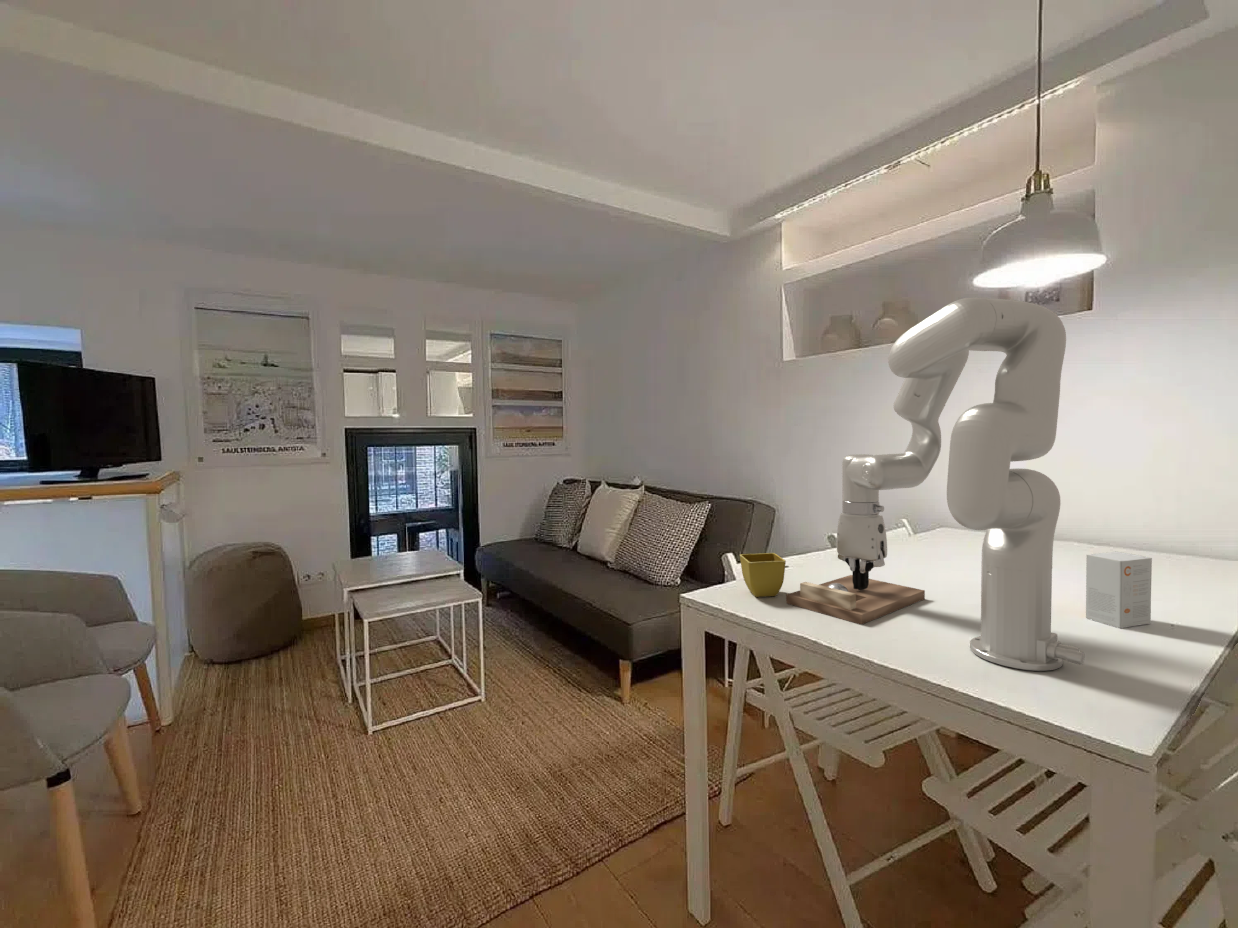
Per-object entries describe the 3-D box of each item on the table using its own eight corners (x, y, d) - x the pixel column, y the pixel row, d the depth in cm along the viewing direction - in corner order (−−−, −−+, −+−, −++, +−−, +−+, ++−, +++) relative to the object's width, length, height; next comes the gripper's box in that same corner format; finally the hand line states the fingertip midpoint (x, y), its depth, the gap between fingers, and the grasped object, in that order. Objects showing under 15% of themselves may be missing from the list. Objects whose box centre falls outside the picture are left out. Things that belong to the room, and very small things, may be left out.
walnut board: (924, 598, 122) (924, 577, 122) (861, 624, 107) (861, 599, 107) (850, 582, 137) (850, 563, 137) (786, 603, 122) (786, 581, 121)
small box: (1114, 613, 110) (1115, 550, 109) (1151, 624, 103) (1153, 557, 103) (1084, 618, 108) (1085, 553, 107) (1120, 628, 102) (1122, 560, 101)
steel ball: (838, 610, 116) (849, 609, 119) (844, 587, 115) (856, 588, 118) (817, 600, 119) (829, 600, 123) (824, 579, 119) (835, 579, 122)
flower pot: (749, 600, 125) (748, 561, 124) (739, 589, 133) (739, 553, 133) (786, 599, 125) (786, 560, 124) (774, 588, 134) (774, 552, 133)
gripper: (902, 510, 118) (901, 592, 119) (839, 504, 130) (840, 579, 131) (883, 513, 114) (883, 599, 115) (821, 507, 126) (821, 584, 127)
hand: (860, 588), depth 123 cm, fingers closed
